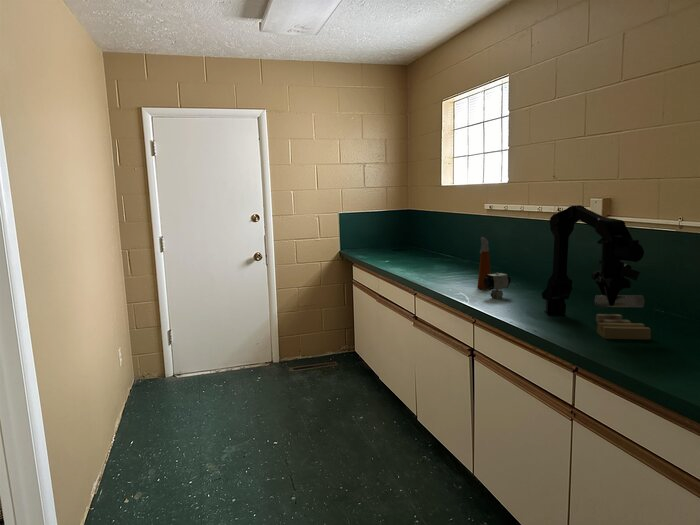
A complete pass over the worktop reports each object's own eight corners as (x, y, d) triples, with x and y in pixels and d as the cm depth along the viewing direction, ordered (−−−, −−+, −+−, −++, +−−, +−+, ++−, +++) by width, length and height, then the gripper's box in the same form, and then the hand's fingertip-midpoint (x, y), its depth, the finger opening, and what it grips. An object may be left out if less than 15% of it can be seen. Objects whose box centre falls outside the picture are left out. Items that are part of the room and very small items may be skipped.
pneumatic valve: (482, 298, 220) (483, 272, 218) (503, 295, 224) (504, 270, 222) (490, 300, 215) (490, 274, 213) (511, 298, 219) (512, 272, 217)
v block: (604, 338, 158) (604, 328, 158) (596, 332, 165) (597, 322, 164) (650, 339, 156) (651, 329, 155) (641, 333, 163) (641, 323, 162)
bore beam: (605, 329, 168) (606, 321, 167) (595, 321, 177) (596, 313, 177) (630, 330, 166) (630, 321, 166) (619, 322, 176) (619, 314, 176)
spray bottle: (472, 290, 237) (473, 237, 233) (479, 286, 246) (480, 235, 242) (486, 291, 233) (487, 237, 229) (493, 287, 242) (494, 235, 238)
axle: (598, 307, 159) (598, 296, 159) (594, 305, 163) (594, 294, 163) (644, 308, 157) (644, 296, 157) (639, 306, 161) (639, 294, 161)
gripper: (650, 261, 148) (647, 311, 150) (626, 254, 166) (624, 298, 168) (611, 262, 150) (609, 310, 152) (591, 254, 168) (590, 298, 170)
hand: (609, 304), depth 161 cm, fingers closed on axle, 4 cm apart
